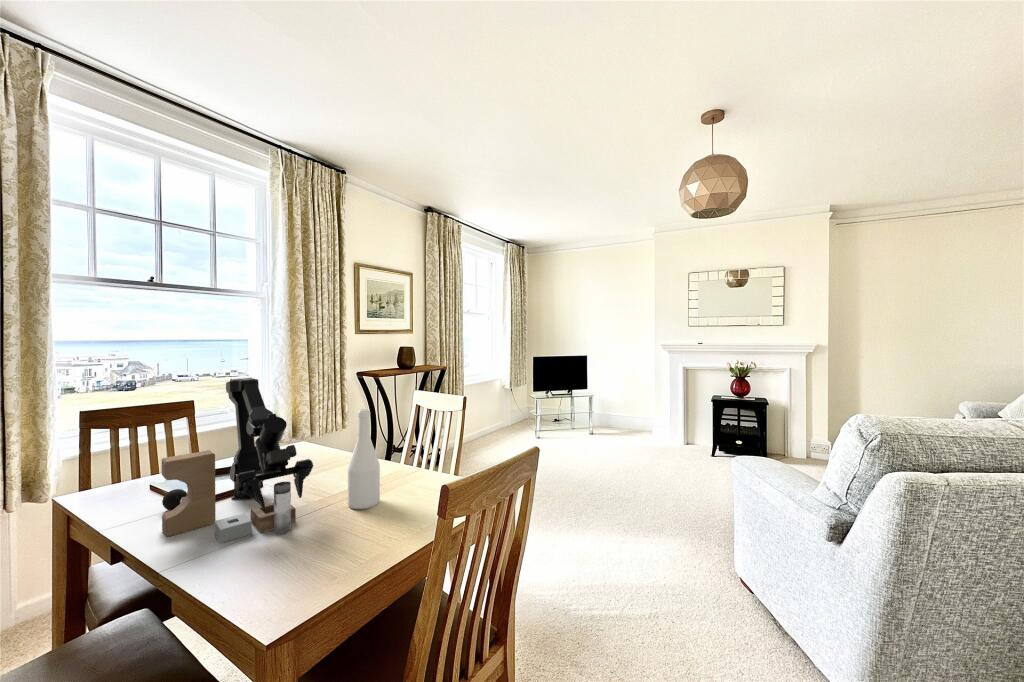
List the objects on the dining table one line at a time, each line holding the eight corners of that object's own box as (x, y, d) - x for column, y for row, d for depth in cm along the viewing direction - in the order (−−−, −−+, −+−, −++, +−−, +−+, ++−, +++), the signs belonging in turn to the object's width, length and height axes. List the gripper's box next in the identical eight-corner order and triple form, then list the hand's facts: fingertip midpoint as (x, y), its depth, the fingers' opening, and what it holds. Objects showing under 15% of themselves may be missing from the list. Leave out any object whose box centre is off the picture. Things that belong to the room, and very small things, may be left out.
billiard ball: (173, 514, 123) (173, 494, 123) (157, 512, 125) (157, 492, 125) (193, 506, 129) (192, 487, 129) (177, 504, 131) (177, 485, 130)
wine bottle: (355, 497, 137) (355, 406, 136) (383, 498, 136) (384, 407, 136) (342, 510, 127) (342, 412, 127) (373, 510, 127) (373, 412, 126)
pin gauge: (271, 535, 111) (271, 487, 111) (277, 528, 115) (277, 481, 115) (286, 534, 112) (286, 486, 111) (293, 527, 116) (293, 481, 115)
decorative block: (165, 538, 109) (164, 462, 109) (161, 530, 113) (161, 457, 113) (216, 524, 117) (215, 453, 117) (211, 517, 121) (210, 449, 121)
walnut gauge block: (250, 522, 119) (250, 508, 119) (284, 512, 125) (284, 499, 125) (259, 532, 112) (259, 518, 112) (295, 522, 119) (295, 508, 119)
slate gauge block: (214, 533, 112) (214, 521, 112) (244, 525, 117) (244, 513, 117) (220, 543, 107) (220, 529, 107) (251, 533, 112) (251, 520, 112)
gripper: (237, 443, 110) (249, 496, 102) (310, 431, 123) (326, 477, 115) (229, 466, 115) (240, 518, 108) (301, 452, 129) (315, 498, 121)
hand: (282, 501), depth 113 cm, fingers open, 9 cm apart
